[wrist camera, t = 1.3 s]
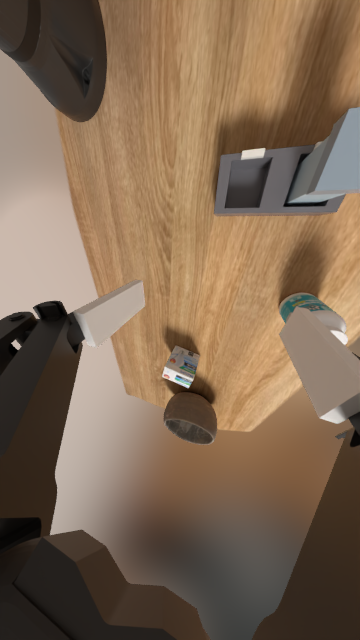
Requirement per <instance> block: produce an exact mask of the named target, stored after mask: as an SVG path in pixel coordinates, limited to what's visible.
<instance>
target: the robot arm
mask: <svg viewBox="0 0 360 640" xmlns="http://www.w3.org/2000/svg"><path fill="white" fill-rule="evenodd" d="M0 49H1V50H2V51H3V52H4V53H6V54H7V55H8V56H9V57H11V58H12V59H13V60H14V61H15V62H16V63H17V64H18V65H19V66H20V68H21V69H22V70H23V71H24V72H25V73H26V75H27V76H28V77H29V78H30V79H31V80H32V81H33V82H34V84H35V85H36V86H37V87H38V88H39V89H40V91H41V92H42V93H43V94H44V96H45V97H46V98H47V99H48V101H49V102H50V103H51V104H52V105H53V106H54V107H55V108H56V109H58V110H59V111H60V112H62V113H63V114H65V115H66V116H67V117H69V118H70V119H72V120H74V121H77V122H85V121H87V120H89V119H91V118H92V117H93V116H94V115H95V113H96V112H97V110H98V108H99V106H100V104H101V101H102V98H103V94H104V89H105V82H106V68H107V58H106V42H105V34H104V27H103V22H102V16H101V12H100V8H99V4H98V0H0ZM144 306H145V299H144V289H143V281H141V280H134V281H132V282H130V283H128V284H126V285H124V286H122V287H120V288H118V289H116V290H114V291H112V292H110V293H108V294H106V295H104V296H102V297H101V298H99V299H97V300H95V301H93V302H91V303H89V304H87V305H85V306H83V307H81V308H79V309H77V310H75V311H73V312H72V313H70V314H67V312H66V310H65V308H64V306H63V304H62V302H60V301H49V302H44V303H41V304H38V305H36V306H34V307H33V309H34V310H35V312H36V313H37V315H38V317H39V318H40V319H36V318H35V316H34V315H33V313H31V312H18V313H13V314H12V315H9V316H7V317H5V318H3V319H1V320H0V640H211V639H210V637H209V636H208V634H207V633H206V632H205V630H204V629H203V627H202V624H201V621H200V618H199V614H198V611H197V609H196V608H195V607H193V606H192V605H191V604H189V603H188V602H186V601H184V600H183V599H182V598H180V597H179V596H177V595H176V594H175V593H173V592H172V591H170V590H169V589H167V588H166V587H164V586H153V585H140V584H139V585H138V584H130V583H128V582H127V581H126V579H125V578H124V576H123V574H122V573H121V571H120V570H119V568H118V566H117V564H116V563H115V561H114V559H113V558H112V556H111V554H110V552H109V551H108V549H107V547H106V546H105V545H103V544H102V543H100V542H99V541H98V540H96V539H94V538H93V537H91V536H90V535H89V534H87V533H86V532H84V531H83V530H78V531H72V532H66V533H61V534H55V535H50V530H51V524H52V520H53V515H54V510H55V504H56V498H57V485H56V481H55V468H56V463H57V459H58V455H59V450H60V446H61V441H62V437H63V432H64V427H65V423H66V419H67V414H68V410H69V405H70V400H71V396H72V391H73V387H74V383H75V378H76V373H77V369H78V365H79V360H80V356H81V351H82V346H83V345H82V341H83V340H84V339H86V342H87V344H88V345H89V346H92V347H96V348H98V347H99V346H100V345H101V344H102V343H103V342H104V341H105V340H107V339H108V338H109V337H110V336H111V335H112V334H114V333H115V332H116V331H117V330H118V329H119V328H120V327H121V326H123V325H124V324H125V323H126V322H127V321H128V320H129V319H131V318H132V317H133V316H134V315H135V314H136V313H137V312H139V311H140V310H141V309H142V308H143V307H144ZM279 335H280V337H281V339H282V342H283V344H284V346H285V348H286V350H287V352H288V354H289V356H290V358H291V360H292V362H293V365H294V367H295V369H296V371H297V373H298V375H299V377H300V379H301V381H302V383H303V386H304V388H305V390H306V392H307V394H308V396H309V398H310V400H311V402H312V404H313V407H314V409H315V410H316V413H317V415H318V417H319V418H321V419H324V420H327V421H330V422H333V423H336V424H339V423H341V422H343V421H345V420H346V419H349V420H350V422H351V423H352V425H353V426H354V427H353V428H351V429H349V430H346V431H344V432H342V433H340V434H338V435H337V436H336V438H338V439H340V438H342V437H343V438H345V439H344V441H343V444H342V446H341V449H340V451H339V454H338V457H337V459H336V462H335V464H334V467H333V469H332V472H331V474H330V477H329V480H328V482H327V485H326V487H325V490H324V492H323V495H322V497H321V500H320V503H319V505H318V508H317V510H316V513H315V516H314V518H313V521H312V523H311V526H310V528H309V531H308V533H307V536H306V538H305V541H304V544H303V546H302V549H301V551H300V554H299V556H298V559H297V561H296V564H295V566H294V569H293V572H292V574H291V577H290V579H289V582H288V585H287V587H286V589H285V592H284V595H283V597H282V600H281V602H280V604H279V606H278V608H277V609H276V611H275V612H274V613H273V614H271V615H269V616H268V617H266V618H264V619H263V621H262V622H261V623H260V624H259V626H258V628H257V630H256V632H255V634H254V636H253V638H252V640H360V357H358V356H357V355H356V354H354V353H353V352H351V351H350V350H349V349H348V348H347V347H346V346H345V345H344V344H343V343H342V342H341V341H340V340H339V339H338V338H337V337H336V336H335V335H334V334H333V333H332V332H331V331H330V330H329V329H328V328H327V327H326V326H325V325H324V324H323V323H322V322H321V321H320V320H319V319H318V318H317V317H316V316H315V315H314V314H313V313H312V312H311V311H310V310H309V309H306V308H300V307H296V308H295V310H294V311H293V313H292V314H291V316H290V318H289V319H288V321H287V322H286V324H285V326H284V327H283V329H282V330H281V332H280V334H279ZM15 339H16V340H17V342H18V343H19V344H20V345H21V346H22V347H21V348H20V349H19V350H17V349H16V348H15V347H13V345H12V344H11V343H12V342H13V341H14V340H15Z"/></svg>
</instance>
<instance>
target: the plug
mask: <svg viewBox="0 0 360 640" xmlns="http://www.w3.org/2000/svg"><path fill="white" fill-rule="evenodd" d="M348 193H360V107H357V108H351V109H348V111H347V112H346V113H345V114H344V115H343V116H342V117H341V118H340V119H339V120H338V121H337V122H336V123H335V124H334V126H333V129H332V131H331V134H330V135H329V136H328V137H327V138H326V139H325V140H324V141H323V142H322V143H321V144H320V145H319V146H318V147H317V148H316V149H315V150H314V151H313V152H312V153H310V154H309V155H308V156H307V157H306V158H305V159H304V160H303V161H302V162H301V163H300V164H299V165H298V166H297V167H296V170H295V173H294V176H293V179H292V182H291V185H290V188H289V191H288V194H287V197H286V199H285V202H284V205H283V206H304V205H313V204H316V203H319V202H322V201H325V200H328V199H331V198H334V197H337V196H341V195H344V194H348Z"/></svg>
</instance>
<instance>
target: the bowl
mask: <svg viewBox="0 0 360 640" xmlns="http://www.w3.org/2000/svg"><path fill="white" fill-rule="evenodd" d="M164 425H165V426H166V427H167V428H168V429H169V430H170V431H171V432H172V433H173V434H175V435H176V436H178V437H179V438H181V439H183V440H185V441H188V442H191V443H195V444H200V445H208V444H211V443H212V442H213V441H214V440H215V437H216V433H217V418H216V414H215V411H214V409H213V407H212V406H211V404H210V403H209V402H208V401H207V400H206V399H205V398H203V397H202V396H200V395H198V394H195V393H189V392H181V393H178V394H175V395H174V396H173V397H172V398H171V399H170V400H169V402H168V404H167V406H166V409H165V412H164Z"/></svg>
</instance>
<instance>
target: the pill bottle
mask: <svg viewBox="0 0 360 640" xmlns="http://www.w3.org/2000/svg"><path fill="white" fill-rule="evenodd" d="M296 307H300V308H306V309H309V310H310V311H311V312H312V313H313V314H314V315H315V316H316V317H317V318H318V319H319V320H320V321H321V322H322V323H323V324H324V325H325V326H326V327H327V328H328V329H329V330H330V331H331V332H332V333H333V334H334V335H335V336H336V337H337V338H338V339H339V340H340V341H341V342H342V343H343V344H344V345H346V343H347V341H348V337H347V335H346V334H345V331H346V323H345V321H344V319H343V318H342V317H341V316H340V315H338V314H337V313H336V312H334V311H333V310H332V309H331V308H329V307H328V306H327V305H325V304H324V303H323V302H322V301H320V300H319V299H318V298H316V297H315V296H314V295H312V294H309V293H295V294H292V295H290V296H288V297H287V298H285V299H284V300H283V301H282V302H281V304H280V306H279V312H280V315H281V317H282V318H283V320H284V322H285V323H286V322H287V321H288V319H289V318H290V316H291V314H292V313H293V311H294V310H295V308H296Z"/></svg>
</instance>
